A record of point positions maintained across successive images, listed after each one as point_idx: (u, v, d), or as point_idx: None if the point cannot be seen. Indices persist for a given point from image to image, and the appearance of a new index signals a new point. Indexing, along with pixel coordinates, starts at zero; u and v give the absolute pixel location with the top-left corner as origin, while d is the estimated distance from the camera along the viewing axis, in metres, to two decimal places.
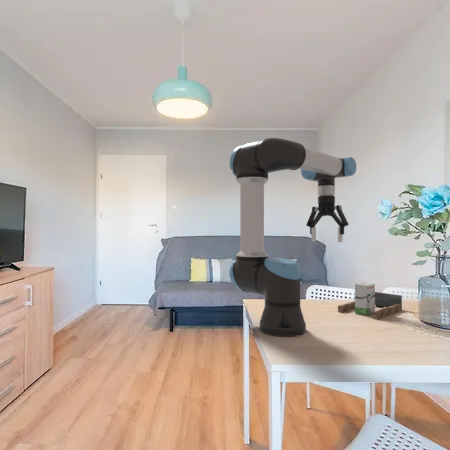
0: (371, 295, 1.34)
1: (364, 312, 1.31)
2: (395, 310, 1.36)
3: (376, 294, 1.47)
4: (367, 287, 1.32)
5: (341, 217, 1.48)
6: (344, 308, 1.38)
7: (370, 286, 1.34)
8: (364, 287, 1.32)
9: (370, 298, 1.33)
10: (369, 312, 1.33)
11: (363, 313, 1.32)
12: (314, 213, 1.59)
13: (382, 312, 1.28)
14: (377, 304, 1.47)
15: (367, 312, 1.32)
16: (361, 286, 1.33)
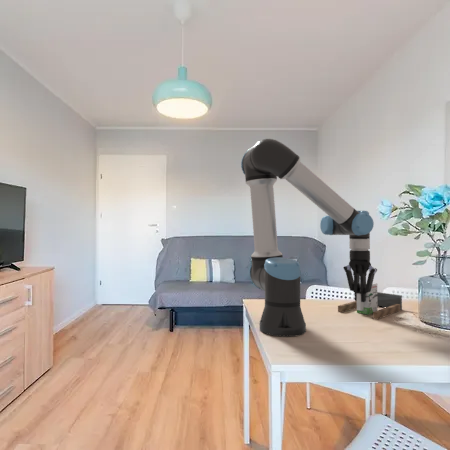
0: (373, 294, 1.35)
1: (366, 311, 1.32)
2: (395, 310, 1.36)
3: None
4: None
5: (368, 283, 1.29)
6: (344, 308, 1.38)
7: (372, 286, 1.35)
8: None
9: (371, 297, 1.34)
10: (371, 311, 1.33)
11: (365, 312, 1.33)
12: (349, 273, 1.36)
13: (382, 312, 1.28)
14: None
15: (369, 311, 1.32)
16: None
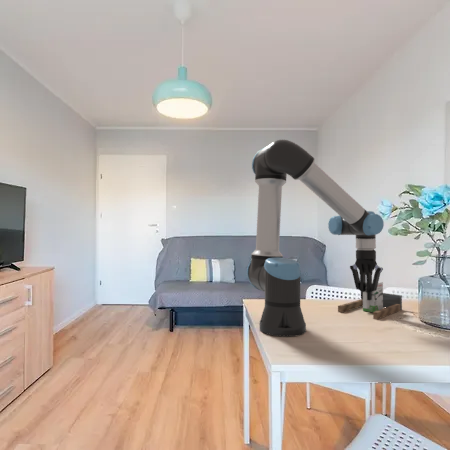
0: (378, 293, 1.38)
1: (372, 309, 1.36)
2: (395, 310, 1.36)
3: None
4: None
5: (374, 281, 1.33)
6: (344, 308, 1.38)
7: (378, 284, 1.38)
8: None
9: (377, 296, 1.37)
10: (377, 309, 1.37)
11: (370, 310, 1.36)
12: (356, 272, 1.39)
13: (382, 312, 1.28)
14: None
15: (374, 309, 1.36)
16: None
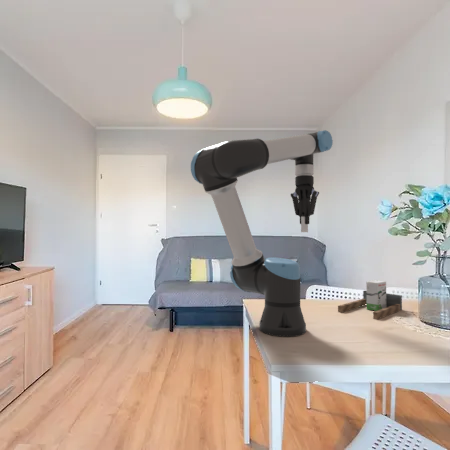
0: (382, 292, 1.41)
1: (375, 308, 1.38)
2: (395, 310, 1.36)
3: None
4: (378, 284, 1.39)
5: (310, 205, 1.38)
6: (344, 308, 1.38)
7: (381, 283, 1.41)
8: (375, 284, 1.39)
9: (381, 295, 1.40)
10: (380, 308, 1.39)
11: (374, 309, 1.39)
12: (296, 199, 1.44)
13: (382, 312, 1.28)
14: None
15: (378, 308, 1.38)
16: (372, 283, 1.40)
